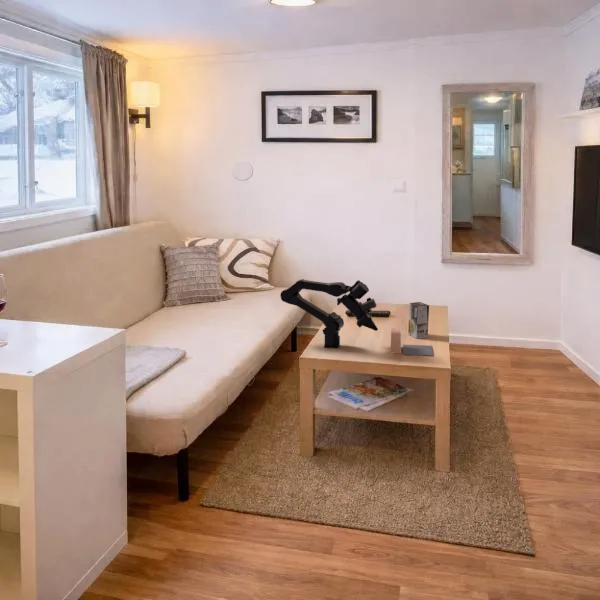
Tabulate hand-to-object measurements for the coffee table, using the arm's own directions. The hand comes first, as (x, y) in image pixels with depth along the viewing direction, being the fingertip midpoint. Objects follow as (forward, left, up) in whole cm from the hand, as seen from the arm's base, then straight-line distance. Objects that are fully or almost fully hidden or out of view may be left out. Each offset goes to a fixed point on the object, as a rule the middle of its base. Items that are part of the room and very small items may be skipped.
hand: (377, 330), depth 293 cm
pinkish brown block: (+8, 0, -9) cm, 12 cm away
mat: (+18, 0, -9) cm, 20 cm away
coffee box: (+19, +26, -9) cm, 34 cm away
